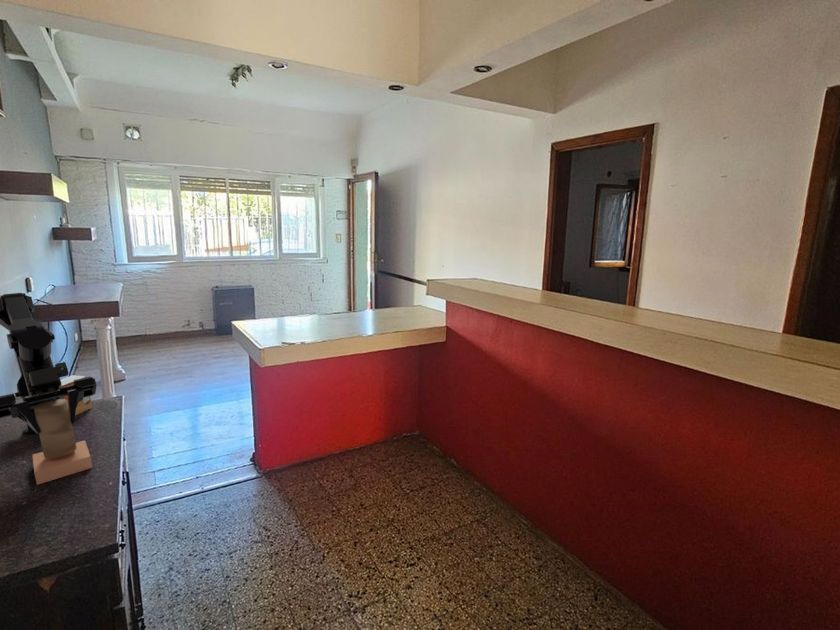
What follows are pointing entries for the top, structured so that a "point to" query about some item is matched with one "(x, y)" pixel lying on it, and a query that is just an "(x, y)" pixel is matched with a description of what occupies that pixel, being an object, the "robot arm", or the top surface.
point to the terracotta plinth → (61, 464)
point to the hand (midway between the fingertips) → (56, 428)
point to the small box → (87, 400)
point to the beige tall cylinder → (55, 428)
